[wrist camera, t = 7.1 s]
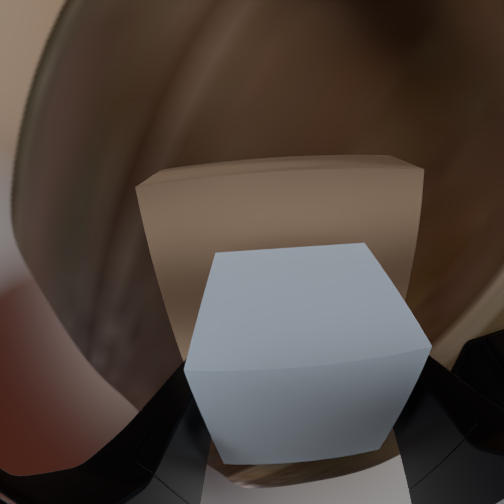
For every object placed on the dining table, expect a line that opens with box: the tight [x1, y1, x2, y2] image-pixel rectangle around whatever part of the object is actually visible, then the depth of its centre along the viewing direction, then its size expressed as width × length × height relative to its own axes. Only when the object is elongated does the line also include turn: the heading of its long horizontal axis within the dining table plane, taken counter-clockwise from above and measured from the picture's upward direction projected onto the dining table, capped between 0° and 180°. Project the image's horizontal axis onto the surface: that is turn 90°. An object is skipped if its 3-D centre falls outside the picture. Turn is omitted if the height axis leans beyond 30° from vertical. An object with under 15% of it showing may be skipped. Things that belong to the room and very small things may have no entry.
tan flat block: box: [136, 155, 424, 361], centre depth 12 cm, size 10×10×3 cm
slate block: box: [184, 243, 432, 464], centre depth 8 cm, size 5×5×5 cm
